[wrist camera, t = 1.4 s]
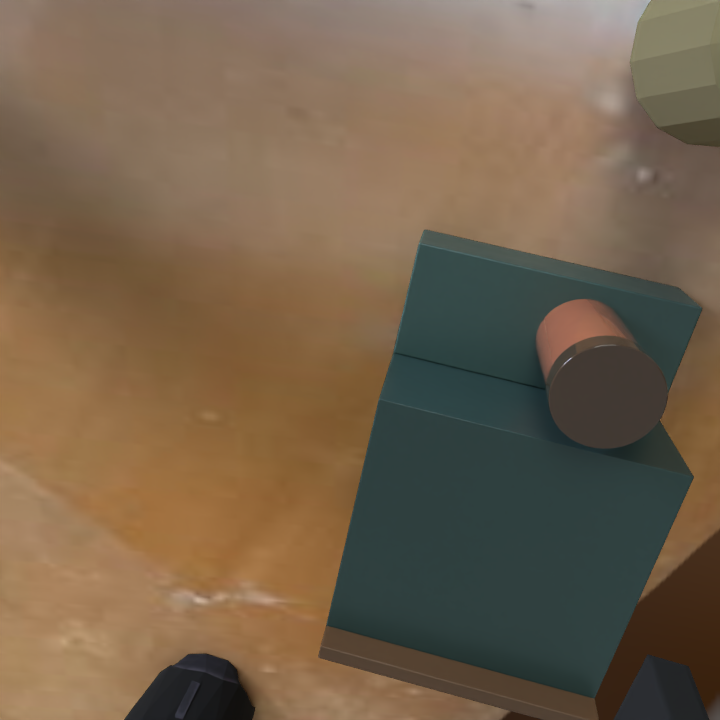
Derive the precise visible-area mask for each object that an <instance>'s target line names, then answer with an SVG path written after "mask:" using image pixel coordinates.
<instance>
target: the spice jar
mask: <svg viewBox="0 0 720 720" xmlns="http://www.w3.org/2000/svg"><path fill="white" fill-rule="evenodd" d="M535 343H536V352H537V356H538V359H539V363H540V367H541V370H542V374H543V378H544V381H545V385H546V397H547V402H548V406H549V410H550V413H551V416H552V418H553V420H554V422H555V424H556V425H557V426H558V428H559V429H560V430H561V431H562V432H563V433H564V434H565V435H566V436H567V437H569V438H570V439H572V440H573V441H575V442H577V443H579V444H582V445H585V446H588V447H592V448H599V449H611V448H618V447H622V446H626V445H629V444H631V443H634V442H635V441H637V440H639V439H641V438H642V437H644V436H645V435H647V434H648V433H649V432H650V431H651V430H652V429H653V428H654V427H655V426H656V425H657V423H658V422H659V420H660V419H661V417H662V415H663V413H664V410H665V407H666V404H667V398H668V390H667V383H666V380H665V377H664V375H663V372H662V371H661V369H660V367H659V366H658V365H657V363H656V362H655V360H654V359H653V358H652V356H651V355H650V354H649V353H648V352H647V351H646V350H645V349H644V348H643V347H642V346H641V345H640V344H639V342H638V341H637V340H636V338H635V337H634V335H633V334H632V333H631V331H630V330H629V328H628V327H627V326H626V324H625V323H624V321H623V320H622V319H621V317H620V316H619V315H618V313H617V312H616V311H615V310H613V309H612V308H611V307H609V306H608V305H606V304H604V303H602V302H599V301H596V300H591V299H577V300H572V301H568V302H565V303H563V304H561V305H559V306H557V307H556V308H554V309H553V310H552V311H551V312H549V313H548V314H547V316H546V317H545V318H544V319H543V321H542V322H541V324H540V326H539V328H538V331H537V335H536V342H535Z"/></svg>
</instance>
